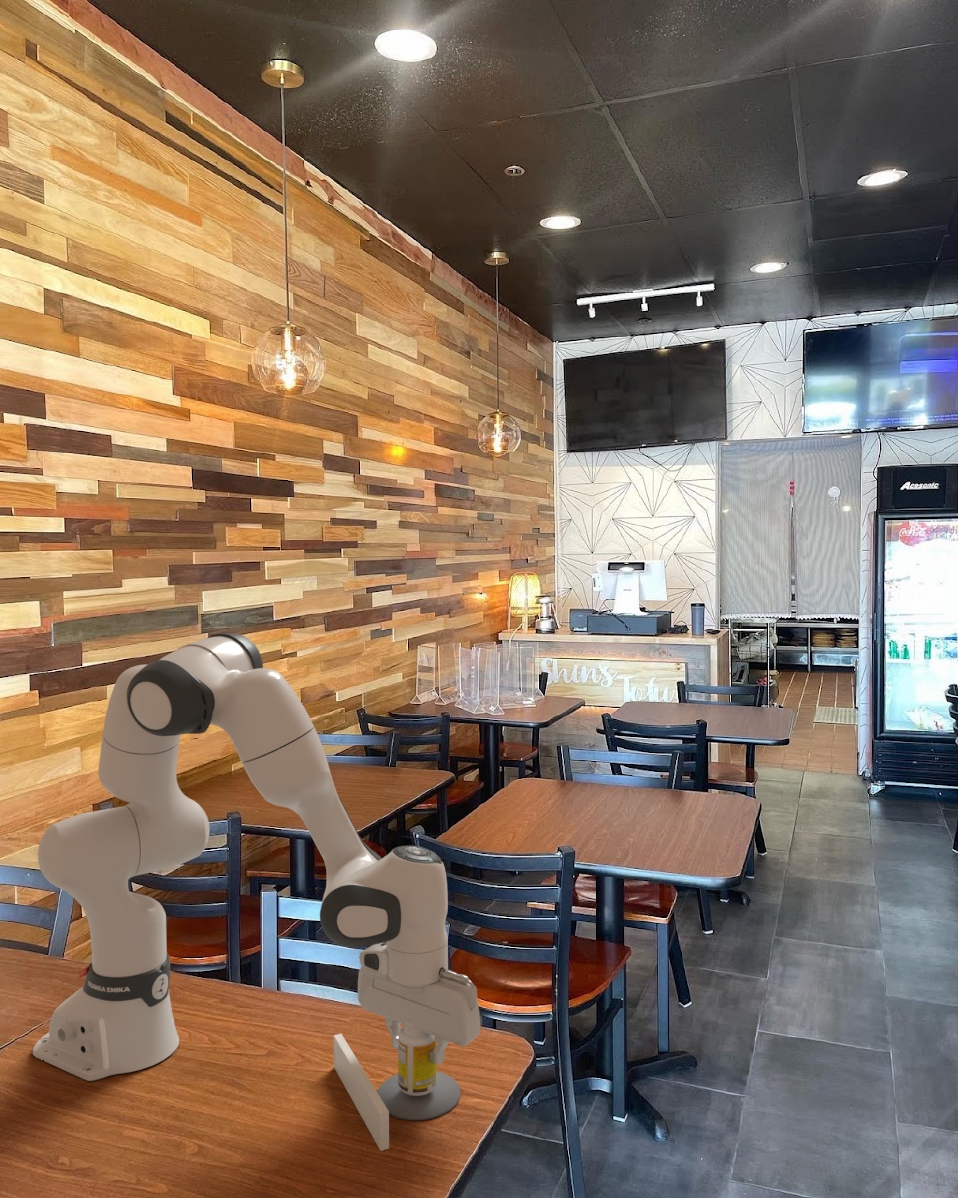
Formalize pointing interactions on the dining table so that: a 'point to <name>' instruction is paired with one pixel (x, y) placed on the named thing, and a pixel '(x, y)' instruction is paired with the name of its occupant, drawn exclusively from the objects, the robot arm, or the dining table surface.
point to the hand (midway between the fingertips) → (417, 1054)
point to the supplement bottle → (415, 1061)
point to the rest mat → (420, 1099)
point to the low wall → (362, 1092)
